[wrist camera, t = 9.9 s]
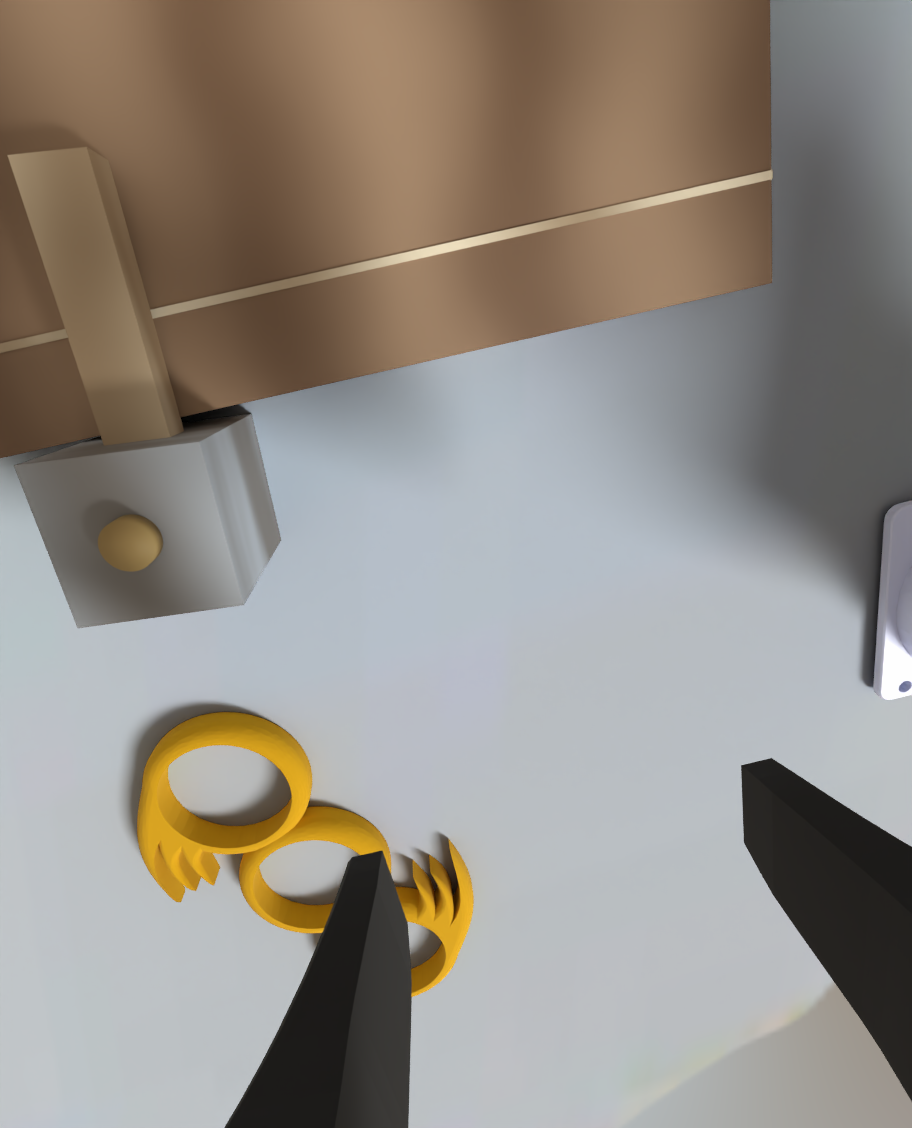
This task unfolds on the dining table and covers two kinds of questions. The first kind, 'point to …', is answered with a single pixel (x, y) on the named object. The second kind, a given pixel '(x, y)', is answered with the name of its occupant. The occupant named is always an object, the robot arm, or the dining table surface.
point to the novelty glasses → (282, 840)
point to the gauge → (133, 430)
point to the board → (380, 179)
